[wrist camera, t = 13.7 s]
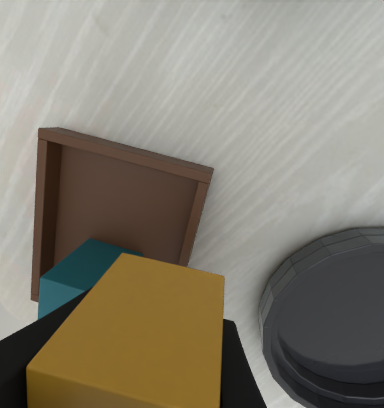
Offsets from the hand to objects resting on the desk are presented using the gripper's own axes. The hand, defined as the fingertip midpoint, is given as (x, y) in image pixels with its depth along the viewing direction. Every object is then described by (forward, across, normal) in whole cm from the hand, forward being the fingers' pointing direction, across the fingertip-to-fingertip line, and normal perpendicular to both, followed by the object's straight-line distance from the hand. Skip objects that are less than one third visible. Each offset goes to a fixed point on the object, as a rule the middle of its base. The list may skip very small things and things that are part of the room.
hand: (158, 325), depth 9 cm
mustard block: (+1, 0, 0) cm, 1 cm away
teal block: (+8, +5, +4) cm, 10 cm away
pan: (+8, -12, +3) cm, 15 cm away
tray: (+8, +5, +1) cm, 10 cm away
